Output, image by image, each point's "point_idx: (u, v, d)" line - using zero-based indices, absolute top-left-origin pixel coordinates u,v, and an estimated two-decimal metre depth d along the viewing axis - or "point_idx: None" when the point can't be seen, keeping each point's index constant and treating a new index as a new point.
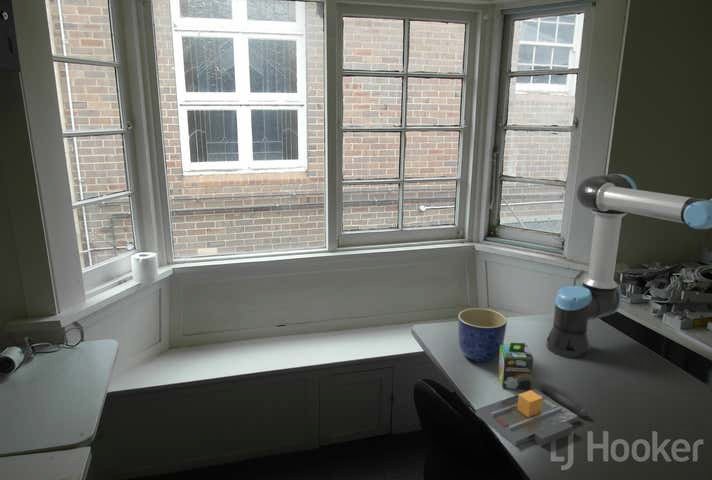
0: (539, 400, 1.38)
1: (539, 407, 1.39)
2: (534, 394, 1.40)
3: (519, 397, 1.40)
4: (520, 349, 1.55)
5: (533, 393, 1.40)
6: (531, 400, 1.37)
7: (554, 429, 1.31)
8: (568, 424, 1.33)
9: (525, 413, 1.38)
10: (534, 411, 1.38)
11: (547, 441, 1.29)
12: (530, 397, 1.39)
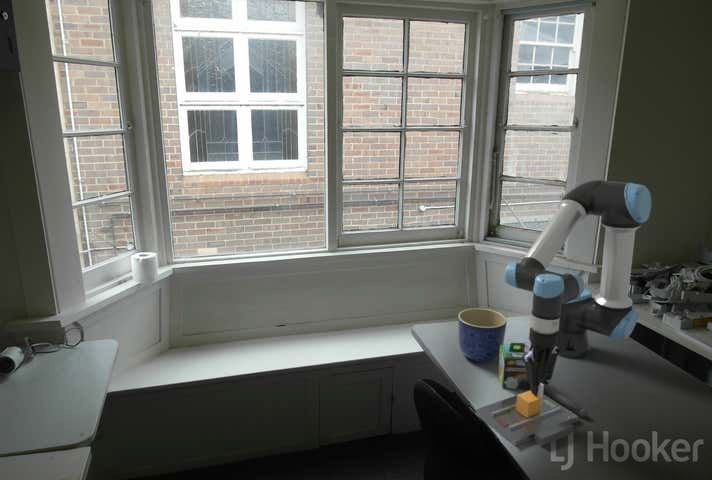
0: (538, 400, 1.38)
1: (538, 408, 1.39)
2: (533, 394, 1.40)
3: (518, 397, 1.39)
4: (520, 349, 1.55)
5: None
6: (530, 400, 1.37)
7: (554, 429, 1.31)
8: (568, 424, 1.33)
9: (524, 413, 1.38)
10: (533, 411, 1.38)
11: (547, 441, 1.29)
12: (529, 397, 1.38)
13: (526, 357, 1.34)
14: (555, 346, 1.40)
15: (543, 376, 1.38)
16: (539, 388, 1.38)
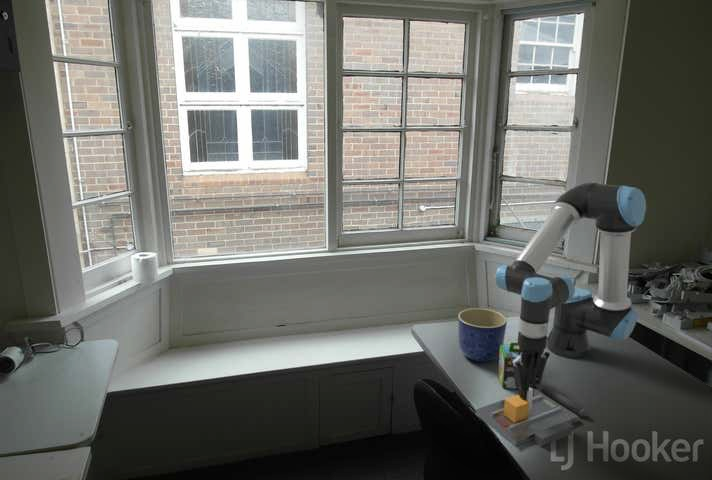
0: (526, 405, 1.36)
1: (526, 412, 1.37)
2: (521, 399, 1.38)
3: (505, 402, 1.37)
4: None
5: (520, 398, 1.38)
6: (517, 405, 1.35)
7: (554, 429, 1.31)
8: (568, 424, 1.33)
9: (511, 418, 1.36)
10: (520, 416, 1.36)
11: (547, 441, 1.29)
12: (517, 401, 1.36)
13: (514, 362, 1.32)
14: (544, 350, 1.38)
15: (532, 381, 1.37)
16: (528, 393, 1.37)
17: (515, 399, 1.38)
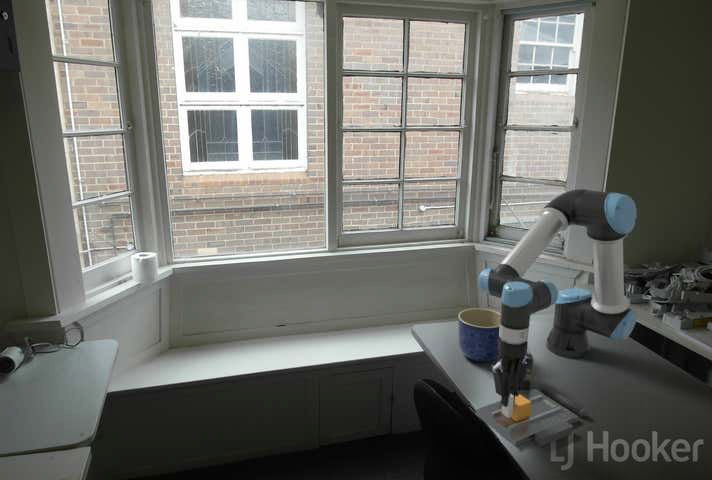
0: (527, 404, 1.36)
1: (528, 411, 1.37)
2: (523, 398, 1.38)
3: None
4: None
5: (522, 397, 1.38)
6: (519, 404, 1.35)
7: (554, 429, 1.31)
8: (568, 424, 1.33)
9: (513, 417, 1.36)
10: (522, 415, 1.36)
11: (547, 441, 1.29)
12: (518, 401, 1.37)
13: (494, 368, 1.29)
14: None
15: (513, 387, 1.34)
16: (509, 400, 1.34)
17: (517, 398, 1.38)
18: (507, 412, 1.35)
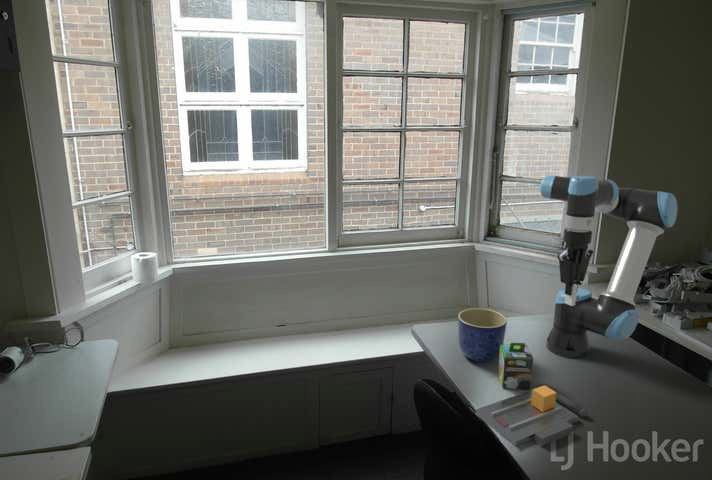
0: (553, 395, 1.40)
1: (553, 402, 1.41)
2: (548, 389, 1.42)
3: (533, 392, 1.42)
4: (520, 349, 1.55)
5: (547, 388, 1.43)
6: (545, 395, 1.40)
7: (554, 429, 1.31)
8: (568, 424, 1.33)
9: (539, 408, 1.41)
10: (548, 406, 1.41)
11: (547, 441, 1.29)
12: (544, 392, 1.41)
13: (561, 255, 1.40)
14: (588, 249, 1.46)
15: (576, 277, 1.45)
16: (573, 288, 1.45)
17: (543, 389, 1.42)
18: (570, 300, 1.46)
